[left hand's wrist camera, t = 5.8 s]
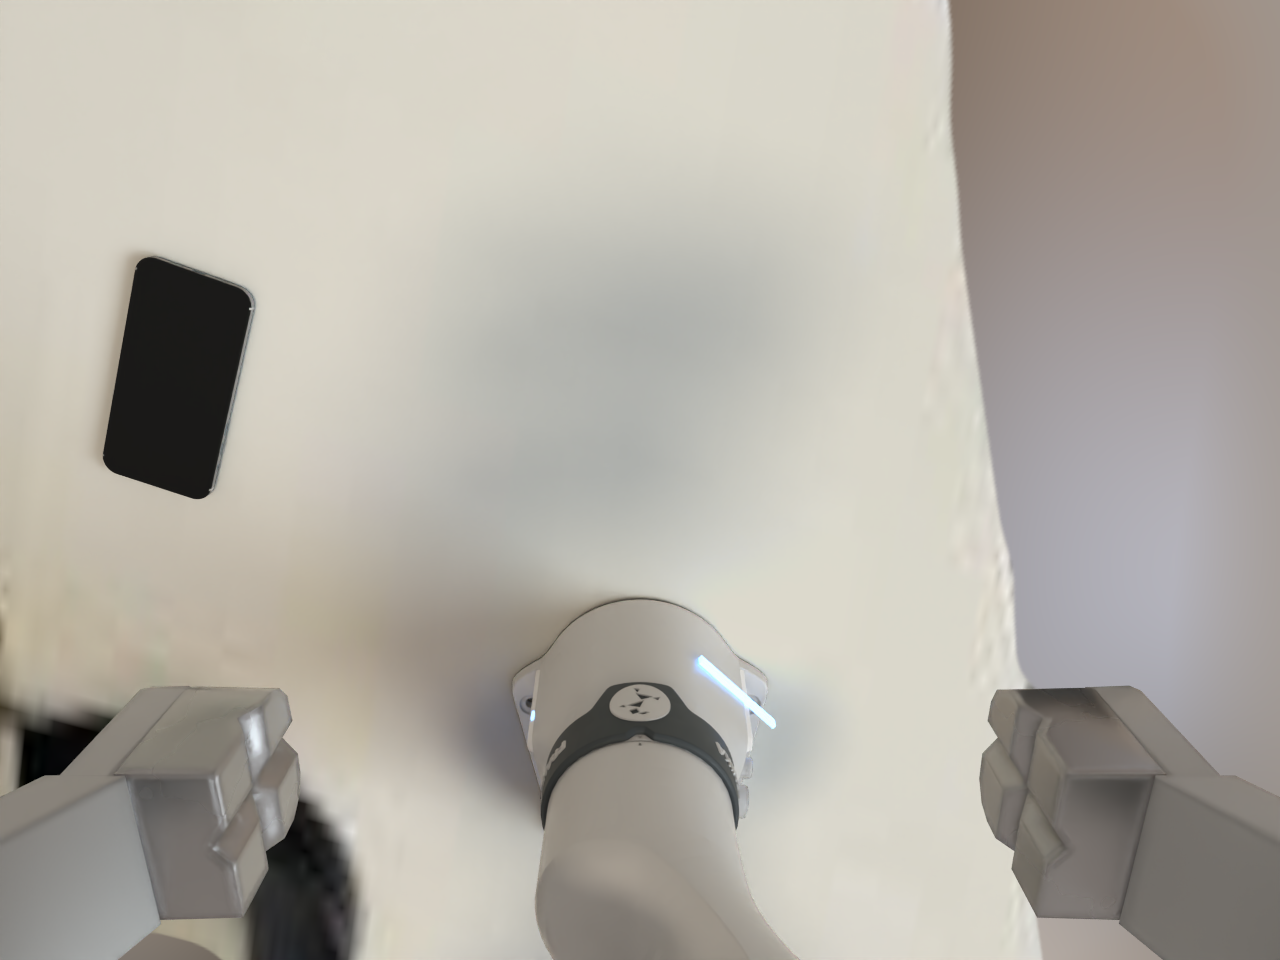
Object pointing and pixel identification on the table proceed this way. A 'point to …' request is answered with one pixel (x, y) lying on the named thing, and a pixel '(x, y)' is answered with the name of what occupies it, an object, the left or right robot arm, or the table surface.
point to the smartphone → (176, 377)
